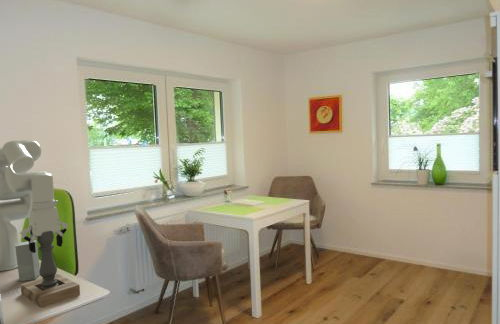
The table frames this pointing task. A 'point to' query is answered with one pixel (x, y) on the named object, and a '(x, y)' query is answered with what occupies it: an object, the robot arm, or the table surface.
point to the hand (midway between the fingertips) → (46, 249)
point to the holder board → (50, 291)
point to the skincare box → (27, 261)
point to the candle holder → (47, 261)
